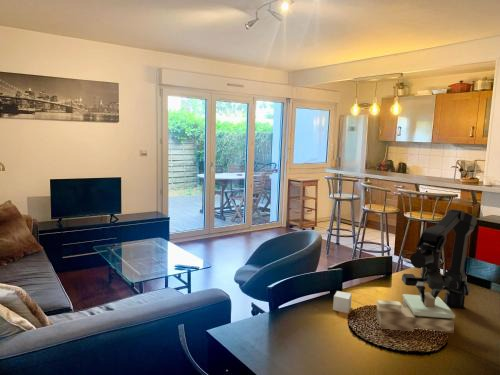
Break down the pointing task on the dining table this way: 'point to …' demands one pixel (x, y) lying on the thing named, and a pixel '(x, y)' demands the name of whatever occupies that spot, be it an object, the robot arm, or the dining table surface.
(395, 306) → the beige rectangular block
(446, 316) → the lid
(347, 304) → the white cube block
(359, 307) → the dining table surface
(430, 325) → the beige rectangular tray
